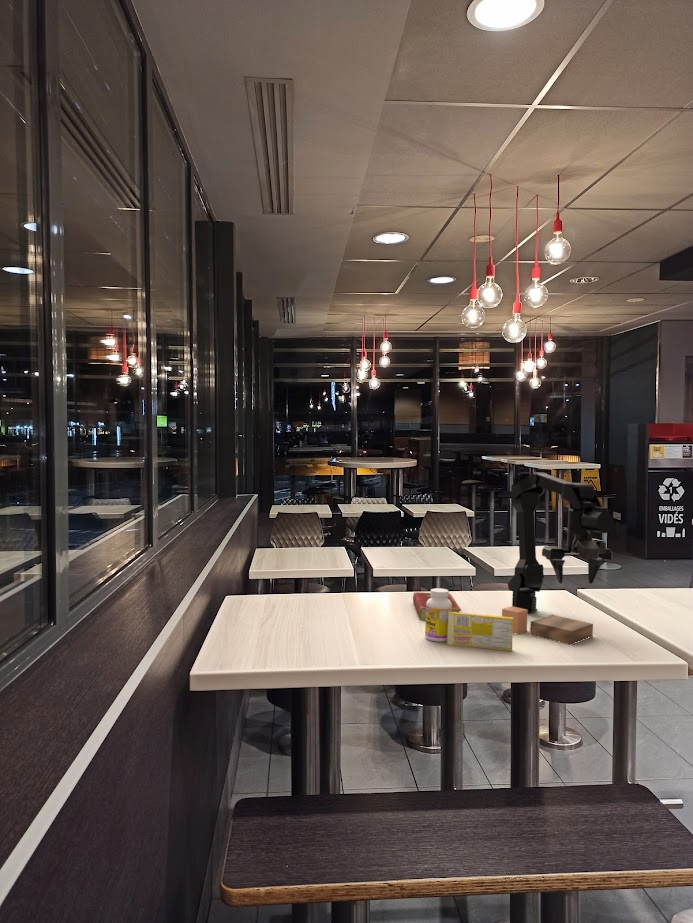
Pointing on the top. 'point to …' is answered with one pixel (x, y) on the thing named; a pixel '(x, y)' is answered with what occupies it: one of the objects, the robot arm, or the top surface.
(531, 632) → the walnut block
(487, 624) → the candy box
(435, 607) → the supplement bottle
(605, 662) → the top surface
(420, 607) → the hardcover book
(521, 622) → the pink clay cube
